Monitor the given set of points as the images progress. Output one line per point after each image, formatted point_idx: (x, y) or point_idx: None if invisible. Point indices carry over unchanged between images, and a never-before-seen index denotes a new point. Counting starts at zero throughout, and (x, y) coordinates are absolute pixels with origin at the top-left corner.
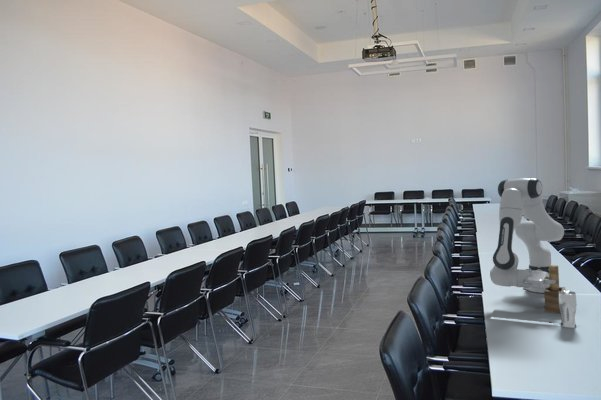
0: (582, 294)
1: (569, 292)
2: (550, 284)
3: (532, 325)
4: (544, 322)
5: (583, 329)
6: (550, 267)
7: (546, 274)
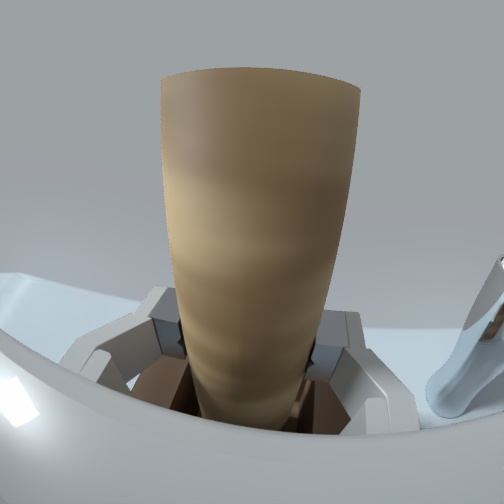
0: (16, 299)
1: (499, 275)
2: (275, 409)
3: None
4: None
5: (450, 354)
6: (345, 111)
7: (40, 354)
